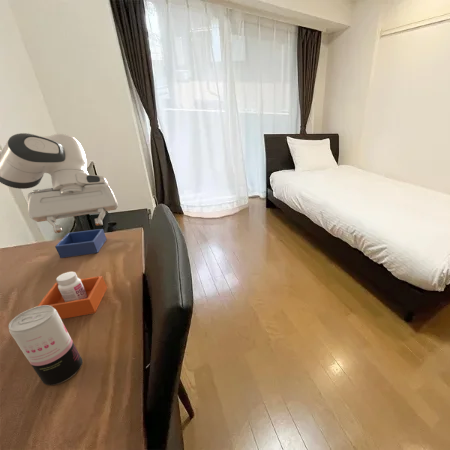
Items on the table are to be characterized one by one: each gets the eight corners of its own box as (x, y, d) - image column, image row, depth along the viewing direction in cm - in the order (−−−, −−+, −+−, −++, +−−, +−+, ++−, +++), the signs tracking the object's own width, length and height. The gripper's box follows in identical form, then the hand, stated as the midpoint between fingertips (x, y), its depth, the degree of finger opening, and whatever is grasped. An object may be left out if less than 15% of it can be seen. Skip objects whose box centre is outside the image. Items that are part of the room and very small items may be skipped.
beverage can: (49, 363, 57) (17, 310, 51) (86, 353, 60) (60, 300, 53) (37, 391, 52) (-1, 336, 45) (78, 379, 54) (47, 324, 48)
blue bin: (60, 258, 93) (54, 246, 91) (72, 243, 102) (67, 232, 100) (97, 252, 96) (93, 241, 94) (106, 239, 105) (102, 228, 103)
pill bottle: (85, 304, 72) (74, 279, 68) (63, 309, 71) (50, 283, 67) (90, 293, 76) (79, 269, 72) (70, 297, 75) (58, 272, 71)
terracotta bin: (43, 322, 67) (35, 308, 65) (61, 296, 76) (55, 282, 74) (95, 312, 70) (89, 299, 68) (107, 288, 79) (102, 275, 77)
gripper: (20, 185, 73) (25, 232, 70) (109, 175, 82) (118, 217, 79) (31, 196, 78) (37, 240, 75) (114, 185, 87) (122, 224, 84)
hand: (79, 228), depth 77 cm, fingers open, 8 cm apart
